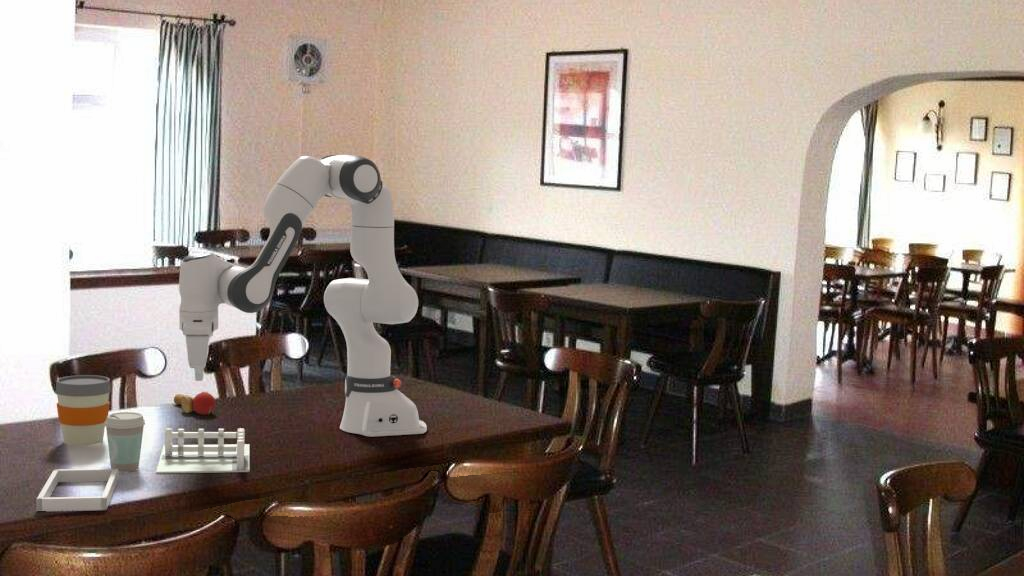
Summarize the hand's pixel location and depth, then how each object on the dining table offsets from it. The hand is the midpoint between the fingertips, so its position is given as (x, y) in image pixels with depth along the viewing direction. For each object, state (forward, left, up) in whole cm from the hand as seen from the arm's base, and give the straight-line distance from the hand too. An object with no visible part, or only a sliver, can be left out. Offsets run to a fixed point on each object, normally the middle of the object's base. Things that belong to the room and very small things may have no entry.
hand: (199, 379), depth 287 cm
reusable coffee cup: (+27, -10, -17) cm, 34 cm away
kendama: (+3, -44, -17) cm, 47 cm away
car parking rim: (+22, +36, -17) cm, 46 cm away
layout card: (-2, +9, -17) cm, 19 cm away
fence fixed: (-10, +15, -16) cm, 24 cm away
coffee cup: (+15, +16, -17) cm, 28 cm away
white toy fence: (-2, +8, -16) cm, 18 cm away
